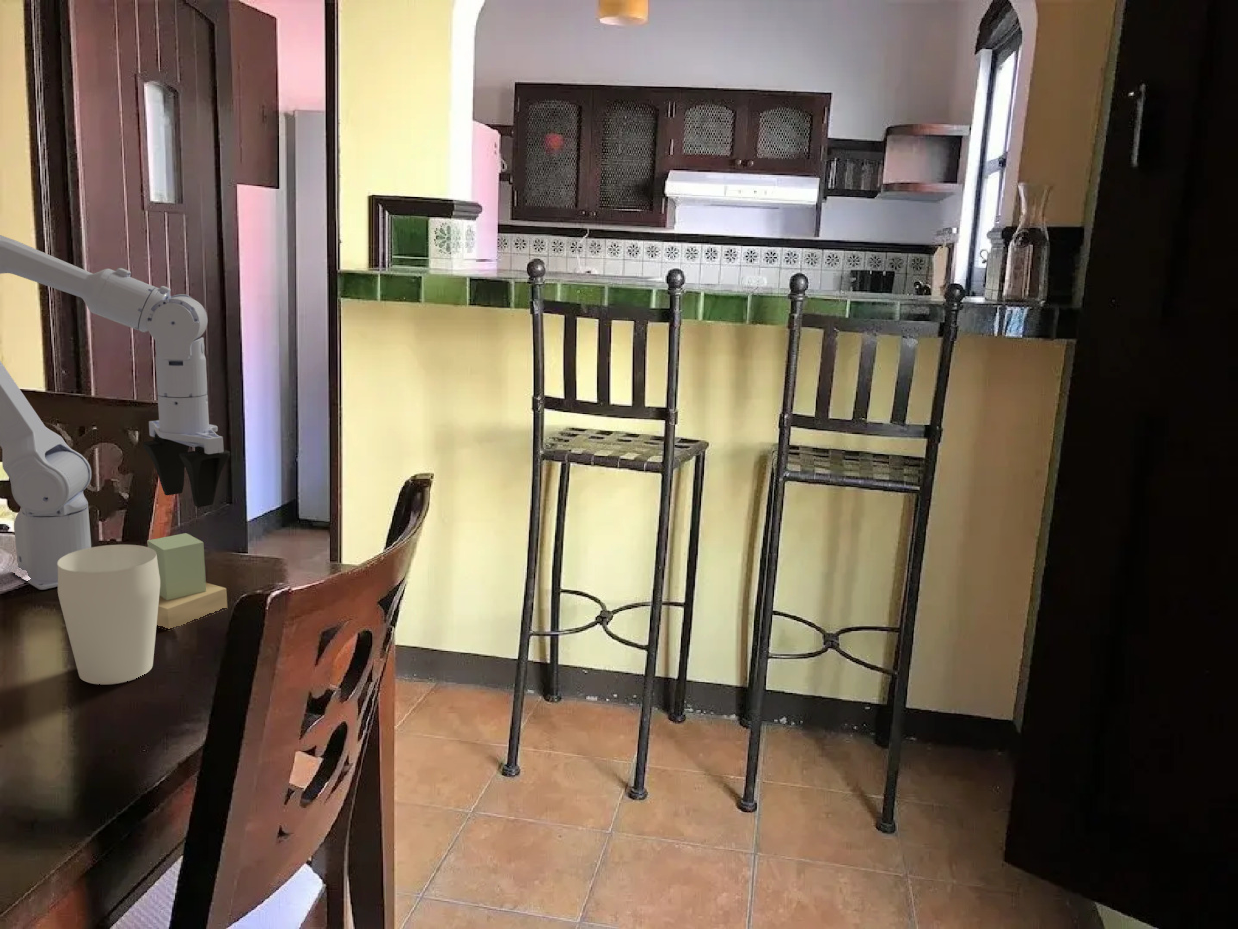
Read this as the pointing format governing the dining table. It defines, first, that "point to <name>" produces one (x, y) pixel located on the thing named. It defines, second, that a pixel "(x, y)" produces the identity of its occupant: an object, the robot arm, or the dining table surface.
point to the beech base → (191, 606)
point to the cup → (110, 610)
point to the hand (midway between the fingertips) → (188, 499)
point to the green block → (180, 565)
